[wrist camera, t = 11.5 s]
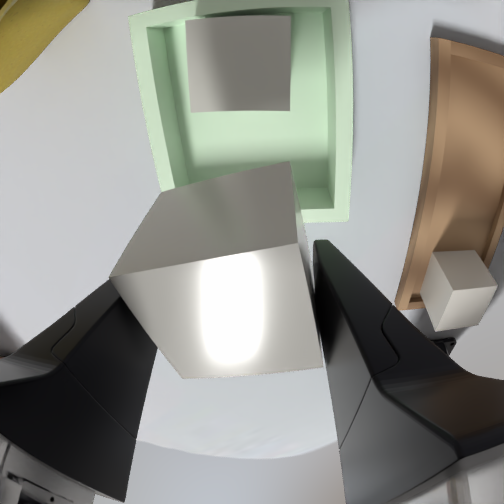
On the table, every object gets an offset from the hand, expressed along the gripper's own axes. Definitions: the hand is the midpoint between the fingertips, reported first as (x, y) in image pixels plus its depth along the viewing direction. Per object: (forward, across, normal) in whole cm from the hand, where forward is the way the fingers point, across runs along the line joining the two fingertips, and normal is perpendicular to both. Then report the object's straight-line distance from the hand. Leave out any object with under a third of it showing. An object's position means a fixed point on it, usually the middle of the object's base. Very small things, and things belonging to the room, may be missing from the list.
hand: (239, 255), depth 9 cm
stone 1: (+9, -14, +9) cm, 19 cm away
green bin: (+10, 0, -3) cm, 10 cm away
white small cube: (+1, 0, 0) cm, 1 cm away
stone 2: (+9, 0, -5) cm, 11 cm away
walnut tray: (+10, -14, +3) cm, 17 cm away
